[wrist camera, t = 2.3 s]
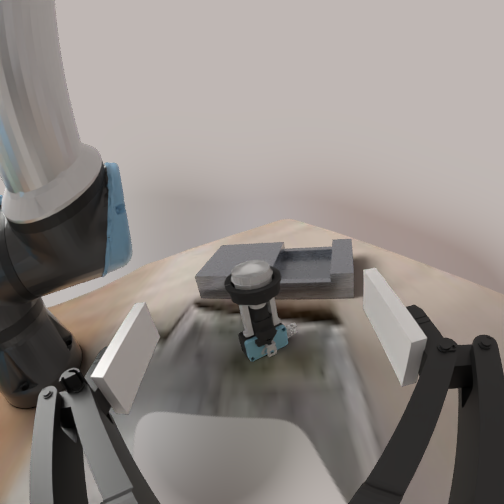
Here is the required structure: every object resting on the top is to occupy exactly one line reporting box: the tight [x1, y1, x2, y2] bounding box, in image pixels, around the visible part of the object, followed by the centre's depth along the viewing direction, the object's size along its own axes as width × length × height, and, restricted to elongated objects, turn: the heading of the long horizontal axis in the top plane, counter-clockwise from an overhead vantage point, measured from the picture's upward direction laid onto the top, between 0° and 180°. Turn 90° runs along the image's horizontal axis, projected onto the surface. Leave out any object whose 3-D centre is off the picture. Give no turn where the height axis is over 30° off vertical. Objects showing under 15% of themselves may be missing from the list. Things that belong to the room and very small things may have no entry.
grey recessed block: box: [195, 239, 354, 299], centre depth 44 cm, size 22×11×4 cm, turn 74°
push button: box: [224, 260, 298, 361], centre depth 29 cm, size 7×5×10 cm
